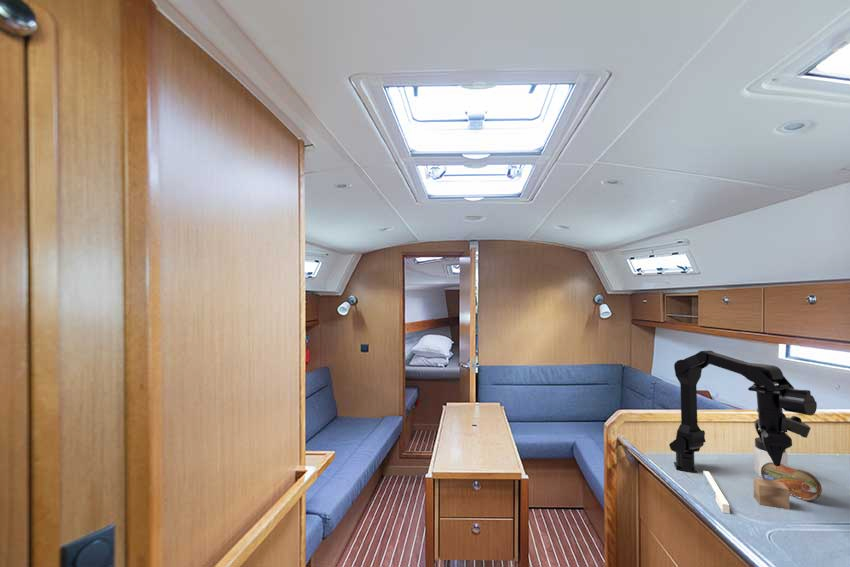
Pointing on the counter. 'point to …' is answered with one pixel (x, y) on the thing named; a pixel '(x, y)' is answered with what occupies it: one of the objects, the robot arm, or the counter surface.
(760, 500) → the tea box
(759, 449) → the jar
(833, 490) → the counter surface
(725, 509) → the rail
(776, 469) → the tin
